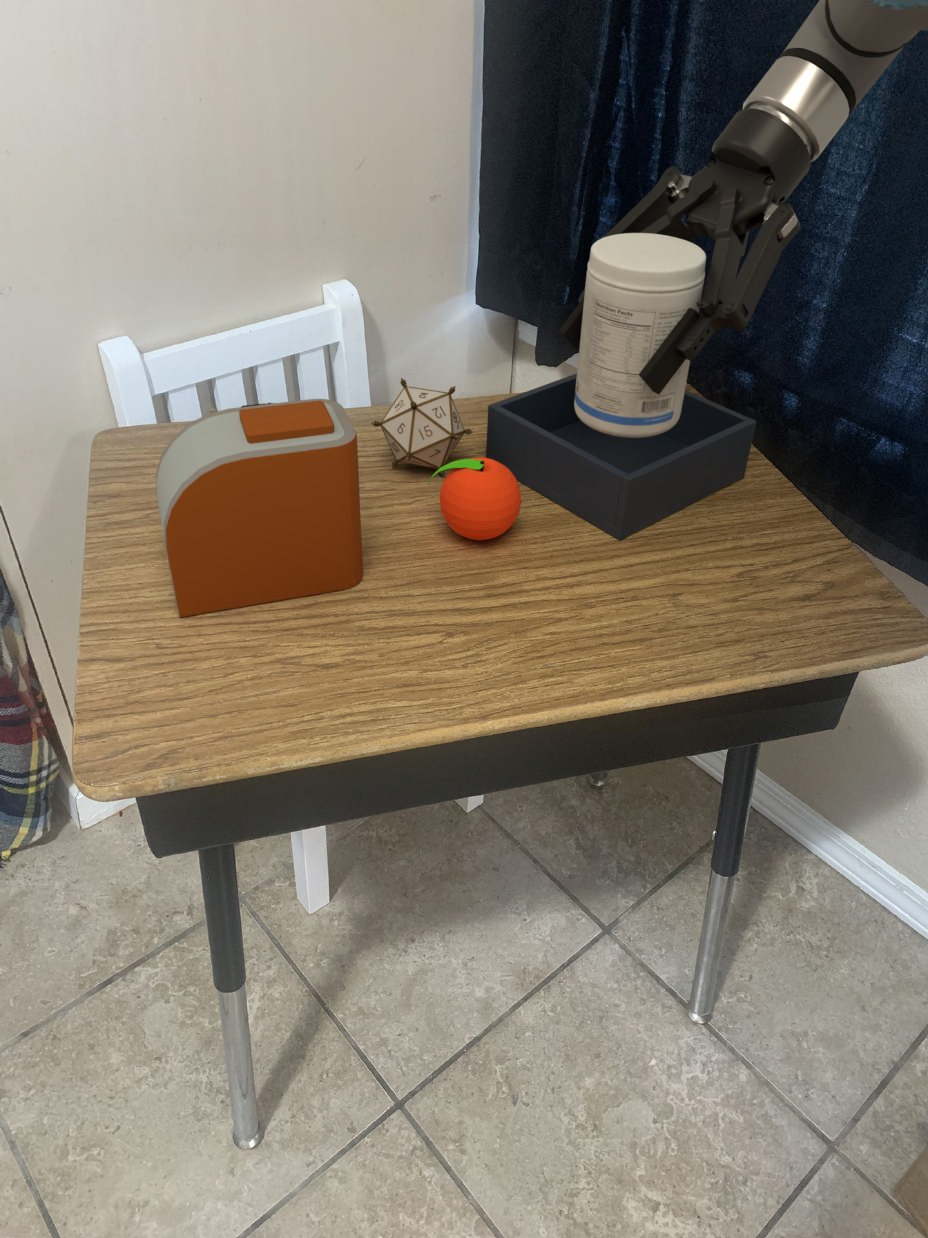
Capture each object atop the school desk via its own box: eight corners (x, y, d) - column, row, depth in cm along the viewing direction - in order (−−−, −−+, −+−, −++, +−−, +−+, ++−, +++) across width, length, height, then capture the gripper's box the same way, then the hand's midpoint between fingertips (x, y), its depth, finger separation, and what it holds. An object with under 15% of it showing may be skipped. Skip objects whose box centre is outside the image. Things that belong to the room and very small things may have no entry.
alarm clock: (344, 530, 85) (336, 384, 76) (368, 586, 78) (362, 433, 70) (168, 557, 81) (139, 406, 72) (179, 618, 74) (148, 460, 66)
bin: (744, 477, 94) (757, 420, 90) (620, 540, 85) (629, 480, 81) (609, 412, 104) (615, 358, 100) (485, 461, 95) (487, 405, 91)
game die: (404, 494, 97) (362, 399, 95) (483, 459, 97) (442, 363, 95) (401, 496, 88) (355, 392, 87) (488, 458, 88) (443, 353, 86)
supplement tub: (595, 385, 92) (613, 224, 83) (692, 407, 89) (722, 242, 80) (555, 427, 86) (571, 256, 76) (660, 452, 82) (689, 277, 73)
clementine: (421, 551, 83) (421, 477, 78) (432, 508, 88) (433, 437, 84) (516, 559, 82) (521, 485, 78) (521, 515, 87) (526, 444, 83)
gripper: (902, 200, 76) (720, 435, 78) (695, 140, 90) (547, 341, 92) (878, 132, 70) (683, 388, 72) (662, 79, 84) (504, 296, 87)
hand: (606, 362), depth 82 cm, fingers closed on supplement tub, 9 cm apart
